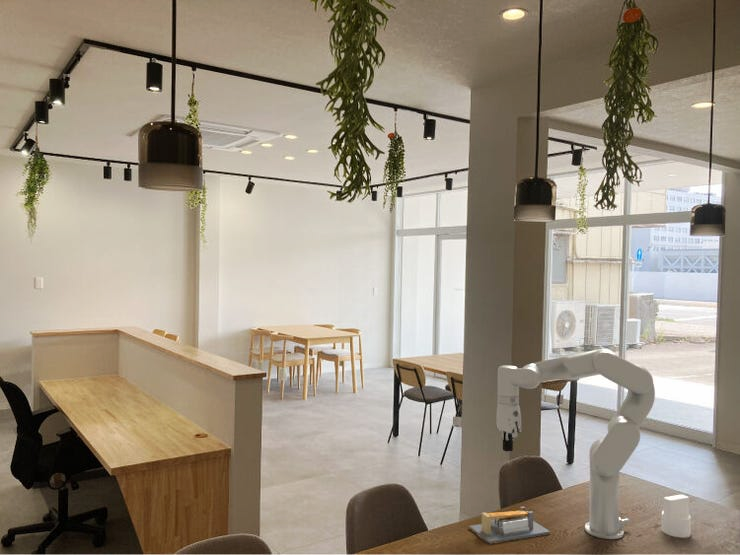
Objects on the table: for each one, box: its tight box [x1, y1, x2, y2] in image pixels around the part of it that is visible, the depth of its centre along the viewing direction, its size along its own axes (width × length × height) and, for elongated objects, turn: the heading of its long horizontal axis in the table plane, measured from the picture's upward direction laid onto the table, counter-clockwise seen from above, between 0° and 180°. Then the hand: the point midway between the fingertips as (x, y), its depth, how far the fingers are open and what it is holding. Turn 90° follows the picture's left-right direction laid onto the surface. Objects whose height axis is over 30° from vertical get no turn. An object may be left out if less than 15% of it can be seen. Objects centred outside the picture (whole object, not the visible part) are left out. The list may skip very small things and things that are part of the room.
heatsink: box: [491, 516, 529, 536], centre depth 205 cm, size 10×9×4 cm
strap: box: [486, 510, 529, 519], centre depth 205 cm, size 16×3×1 cm, turn 110°
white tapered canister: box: [661, 494, 692, 538], centre depth 206 cm, size 9×9×12 cm
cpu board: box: [468, 506, 551, 544], centre depth 205 cm, size 24×13×7 cm, turn 110°
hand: (507, 450), depth 216 cm, fingers closed
